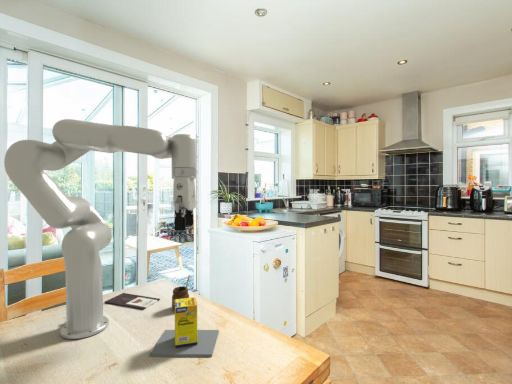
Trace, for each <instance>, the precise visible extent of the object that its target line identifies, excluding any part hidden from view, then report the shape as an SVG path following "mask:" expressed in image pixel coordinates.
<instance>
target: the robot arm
mask: <svg viewBox="0 0 512 384" xmlns="http://www.w3.org/2000/svg"><path fill="white" fill-rule="evenodd" d="M51 131H52V132H51V133H52V136H53V138H54V140H55V141H54V142H52V143H47V142H44V141H40V140H36V139H35V140H34V139H21V140H18V141H15V142H13V143H12V144H11V145H10V146H9V147H8V149H7V150H6V152H5V155H4V159H3V160H4V164H3V165H4V169H5V173H6V174H7V177H8V179H9V180H10V181H11V182H12V184H13V185H14V186H15V187H16V188H17V189H18V190H19V192H20V193H21V194H22V196H24V197H25V198H26V199H27V201H28V202H29V204H30V205H31V206H32V207H33V209H34V210H35V211H36V212H37V214H38V215H39V216H40V217H41V218H42V220H44V222H45V223H46V224H47V225H48V226H49V227H51V228H53V229H58V230H59V229H66V228H71V229H70V230H69V231H68V232H67V233H66V234H65V235H64V237H63V238H62V240H61V253H62V257H63V262H64V271H65V272H64V273H65V274H64V275H65V302H66V304H65V307H66V310H65V311H66V313H65V314H66V316H65V317H66V324H64V325H63V326H62V327H61V329H60V331H59V332H60V333H59V334H60V336H61V337H62V338H63V339H67V340H77V339H78V340H79V339H85V338H88V337H91V336H94V335H97V334H99V333H101V332H102V331H104V330H105V329H106V328H107V327H108V325H109V322H110V320H109V318H108V317H107V316H105V315H104V304H103V303H104V299H103V298H104V295H103V291H104V290H103V266H102V261H101V256H100V251H102V250H103V249H105V248H107V247H108V246H109V245H110V243H111V241H112V238H113V234H112V230H111V228H110V226H109V225H108V224H107V222H106V221H105V219H103V217H102V216H101V215H100V213H99V212H98V211H97V210H96V209H95V207H94V206H93V205H92V204H91V203H90V202H89V201H88V200H86V199H85V198H83V197H80V196H69V195H67V194H66V192H64V190H63V189H62V188H61V187H60V186H59V184H58V183H57V182H56V180H54V179H53V178H52V177H51V176H50V175H48V174H47V173H46V172H45V171H48V172H50V171H51V172H55V171H59V170H62V169H65V168H66V167H68V166H69V165H71V164H72V163H74V162H75V161H77V160H78V159H80V158H81V157H83V156H84V155H86V154H87V153H88V152H90V151H93V152H100V153H106V154H115V153H118V152H123V153H133V154H139V155H146V156H151V157H154V158H156V159H159V160H160V159H161V160H163V159H171V179H174V180H173V194H172V195H173V199H172V200H173V209H174V211H173V212H174V216H173V217H174V231H177V232H178V231H179V232H180V231H181V232H182V231H183V232H184V231H186V230H187V228H186V227H191V226H192V227H193V226H194V210H195V208H197V199H196V198H197V197H196V185H195V183H196V182H195V179H197V152H196V151H197V140H196V138H195V136H194V135H191V134H188V133H177V134H173V136H167V135H165V134H164V133H163V132H162V131H159V130H156V129H153V128H151V129H150V128H145V127H139V126H132V125H118V124H114V125H113V124H105V123H98V122H92V121H85V120H78V119H70V118H69V119H67V118H66V119H65V118H64V119H60V120H58V121H57V122H55V123H54V125H53V126H52V130H51Z"/></svg>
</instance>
